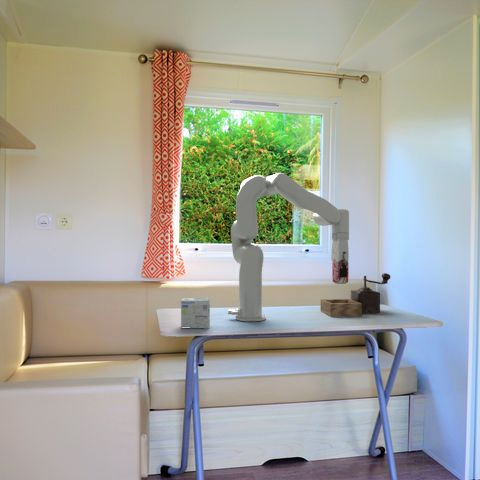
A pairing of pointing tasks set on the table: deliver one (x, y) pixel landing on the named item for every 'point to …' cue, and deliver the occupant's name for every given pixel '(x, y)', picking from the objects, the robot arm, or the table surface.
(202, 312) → the light bulb box
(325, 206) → the robot arm
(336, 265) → the soda can
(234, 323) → the table surface
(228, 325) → the table surface
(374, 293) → the manual coffee grinder
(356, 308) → the open wooden box
